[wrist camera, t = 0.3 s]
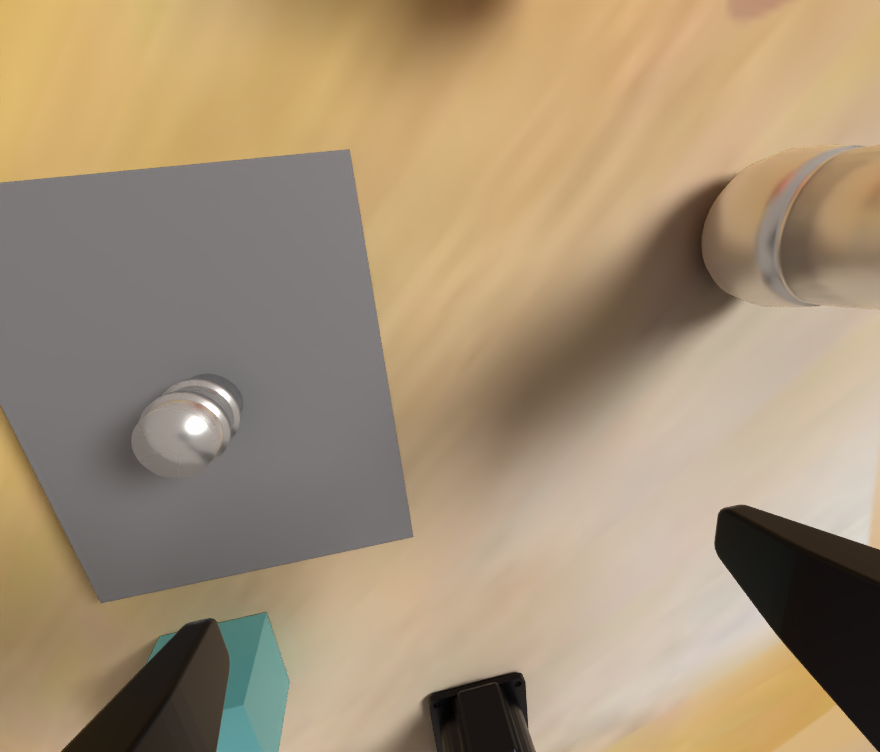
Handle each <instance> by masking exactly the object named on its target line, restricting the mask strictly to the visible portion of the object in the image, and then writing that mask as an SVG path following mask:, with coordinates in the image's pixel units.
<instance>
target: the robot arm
mask: <svg viewBox="0 0 880 752" xmlns="http://www.w3.org/2000/svg"><path fill="white" fill-rule="evenodd" d="M714 545H715V550H716V553H717V555H718V557H719V558H720V560H721V561H722V562H723V564H724V565H725V566H726V568H727V569H728V570H729V572H730V573H731V574H732V576H733V577H734V578H735V580H736V581H737V582H738V584H739V585H740V587H741V588H742V589H743V591H744V592H745V593H746V595H747V596H748V597H749V599H750V600H751V601H752V603H753V604H754V605H755V607H756V608H757V609H758V611H759V612H760V613H761V615H762V616H763V617H764V619H765V620H766V621H767V623H768V624H769V625H770V627H771V628H772V629H773V630H774V632H775V633H776V634H777V636H778V637H779V638H780V639H781V640H782V642H783V643H784V644H785V645H786V646H787V648H788V649H789V650H790V651H791V652H792V654H793V655H794V656H795V657H796V658H797V659H798V660H799V662H800V663H801V664H802V665H803V666H804V667H805V668H806V670H807V671H808V672H809V673H810V674H811V675H812V676H813V678H814V679H815V680H816V681H817V682H818V683H819V684H820V686H821V687H822V688H823V689H824V690H825V691H826V692H827V694H828V695H829V696H830V697H831V698H832V699H833V700H834V702H835V703H836V704H837V705H838V706H839V707H840V708H841V710H842V711H843V712H844V713H845V714H846V715H847V716H848V718H849V719H850V720H851V721H852V722H853V723H854V724H855V726H857V728H858V729H859V730H860V731H861V732H862V734H863V735H864V736H865V737H866V738H867V739H868V740H869V742H870V743H871V744H872V745H873V746H874V747H875V748H876V750H877V751H878V752H880V550H879V549H876V548H872V547H870V546H867V545H864V544H861V543H858V542H855V541H852V540H849V539H846V538H843V537H840V536H837V535H834V534H831V533H828V532H825V531H822V530H819V529H816V528H813V527H810V526H807V525H804V524H801V523H798V522H795V521H792V520H789V519H786V518H783V517H780V516H777V515H774V514H771V513H768V512H765V511H762V510H759V509H756V508H753V507H750V506H747V505H736V506H731V507H726V508H723V509H721V510H720V512H719V513H718V518H717V526H716V534H715V542H714ZM229 670H230V658H229V653H228V650H227V647H226V645H225V642H224V639H223V636H222V634H221V631H220V628H219V625H218V623H217V621H216V620H215V619H211V618H208V619H204V620H199V621H195V622H190V623H188V624H186V625H184V626H183V627H182V628H181V629H180V630H179V631H178V632H177V633H176V634H175V635H174V636H173V637H172V638H171V639H170V640H169V641H168V642H167V643H166V644H165V645H164V646H163V647H162V648H161V649H160V650H159V651H158V652H157V653H156V655H155V656H154V657H153V658H152V659H151V660H150V661H149V662H148V663H147V664H146V665H145V666H144V667H143V668H142V669H141V670H140V671H139V672H138V673H137V674H136V675H135V676H134V677H133V678H132V679H131V680H130V681H129V682H128V683H127V684H126V685H125V686H124V687H123V688H122V689H121V690H120V691H119V692H118V694H117V695H116V696H115V697H114V698H113V699H112V700H111V701H110V702H109V703H108V704H107V705H106V706H105V707H104V708H103V709H102V710H101V711H100V712H99V713H98V714H97V715H96V716H95V717H94V718H93V719H92V720H91V721H90V722H89V723H88V724H87V725H86V726H85V727H84V728H83V729H82V730H81V732H80V733H79V734H78V735H77V736H76V737H75V738H74V739H73V740H72V741H71V742H70V743H69V744H68V745H67V746H66V747H65V748H64V749H63V750H62V751H61V752H216V751H217V745H218V739H219V733H220V726H221V720H222V714H223V708H224V702H225V696H226V689H227V683H228V677H229ZM429 707H430V713H431V718H432V724H433V730H434V735H435V741H436V746H437V752H536V751H535V748H534V745H533V742H532V739H531V736H530V733H529V730H528V717H527V701H526V686H525V680H524V677H523V675H522V674H521V673H514V674H510V675H506V676H502V677H499V678H495V679H491V680H487V681H483V682H479V683H476V684H472V685H468V686H464V687H460V688H456V689H452V690H449V691H445V692H441V693H437V694H434V695H432V696H431V697H430V698H429Z"/></svg>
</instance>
